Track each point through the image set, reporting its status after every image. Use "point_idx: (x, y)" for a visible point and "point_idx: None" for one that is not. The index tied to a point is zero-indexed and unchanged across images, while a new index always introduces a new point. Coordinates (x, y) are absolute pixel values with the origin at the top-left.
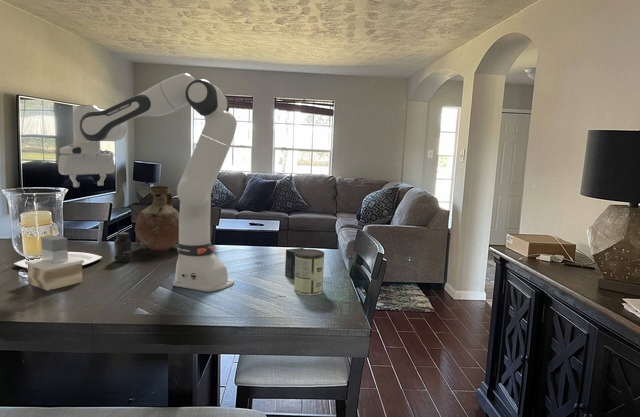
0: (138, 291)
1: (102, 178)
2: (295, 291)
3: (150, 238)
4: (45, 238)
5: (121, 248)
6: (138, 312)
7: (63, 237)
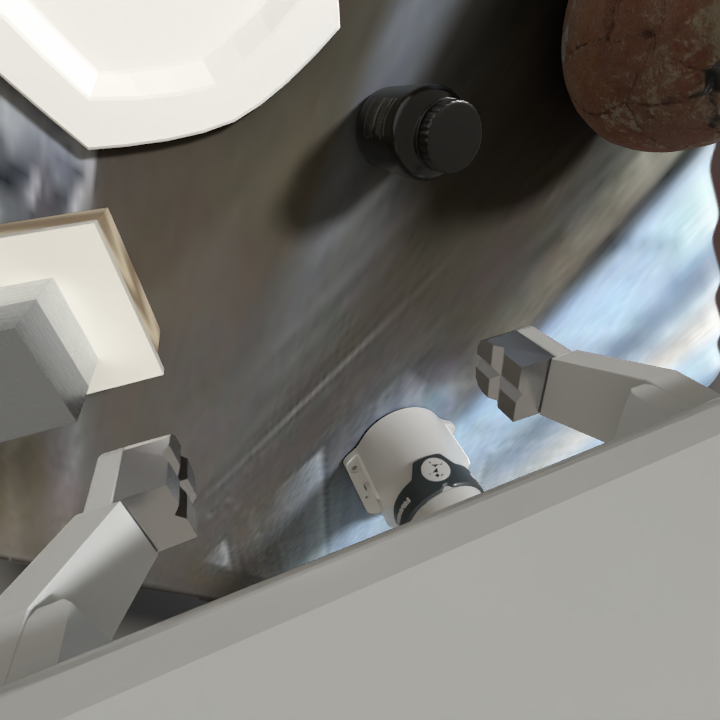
0: (265, 464)
1: (589, 417)
2: None
3: (576, 86)
4: None
5: (393, 169)
6: (213, 558)
7: (57, 397)
